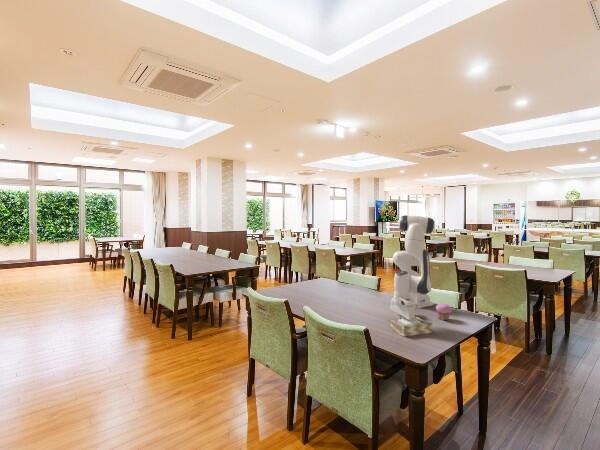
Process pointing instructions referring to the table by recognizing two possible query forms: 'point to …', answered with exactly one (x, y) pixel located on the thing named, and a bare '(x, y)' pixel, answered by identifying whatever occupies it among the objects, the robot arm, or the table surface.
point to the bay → (412, 328)
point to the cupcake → (443, 311)
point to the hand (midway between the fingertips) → (402, 322)
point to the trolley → (407, 322)
